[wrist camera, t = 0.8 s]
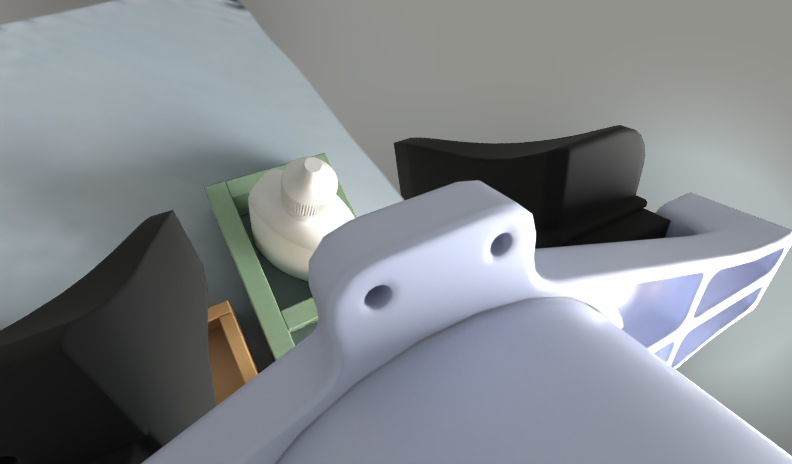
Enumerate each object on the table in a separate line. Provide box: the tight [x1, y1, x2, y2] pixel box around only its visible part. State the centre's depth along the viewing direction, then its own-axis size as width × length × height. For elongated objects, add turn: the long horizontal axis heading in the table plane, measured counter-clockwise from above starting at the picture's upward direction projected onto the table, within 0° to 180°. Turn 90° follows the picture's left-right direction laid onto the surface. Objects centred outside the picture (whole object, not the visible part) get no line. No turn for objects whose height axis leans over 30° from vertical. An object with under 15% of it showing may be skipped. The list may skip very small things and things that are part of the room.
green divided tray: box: [204, 153, 357, 361], centre depth 24 cm, size 18×8×3 cm, turn 28°
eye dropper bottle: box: [248, 157, 354, 281], centre depth 20 cm, size 4×6×12 cm
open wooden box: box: [208, 300, 259, 405], centre depth 19 cm, size 11×10×4 cm
